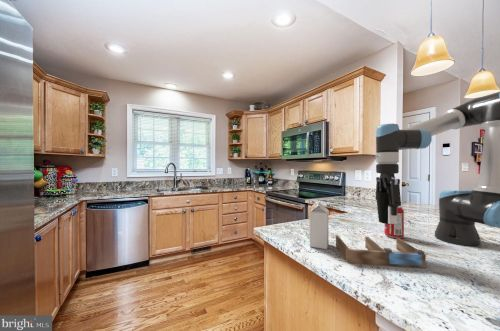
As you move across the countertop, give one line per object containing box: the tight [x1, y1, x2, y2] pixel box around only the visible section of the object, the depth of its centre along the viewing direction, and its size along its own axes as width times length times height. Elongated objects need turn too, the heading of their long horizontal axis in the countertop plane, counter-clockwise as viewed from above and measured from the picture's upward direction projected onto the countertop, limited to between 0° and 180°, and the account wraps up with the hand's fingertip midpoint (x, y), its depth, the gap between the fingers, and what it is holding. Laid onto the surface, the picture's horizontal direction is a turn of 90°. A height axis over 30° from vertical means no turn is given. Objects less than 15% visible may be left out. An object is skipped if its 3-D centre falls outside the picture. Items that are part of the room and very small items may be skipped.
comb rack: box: [335, 234, 427, 269], centre depth 80 cm, size 25×17×6 cm
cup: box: [375, 190, 390, 225], centre depth 83 cm, size 8×8×12 cm
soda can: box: [383, 205, 405, 239], centre depth 101 cm, size 8×8×15 cm
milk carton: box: [309, 200, 330, 250], centre depth 90 cm, size 7×7×19 cm
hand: (387, 220), depth 83 cm, fingers closed on cup, 8 cm apart
